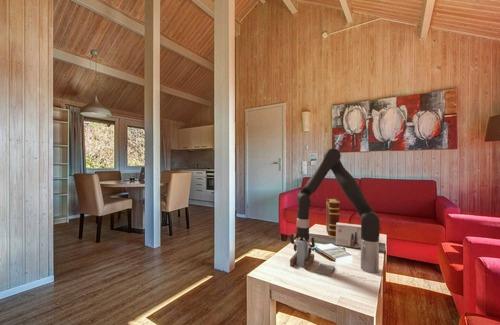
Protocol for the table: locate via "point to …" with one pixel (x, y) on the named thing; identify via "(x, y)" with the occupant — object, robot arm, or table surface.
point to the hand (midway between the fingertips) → (302, 252)
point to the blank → (302, 252)
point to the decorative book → (332, 216)
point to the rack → (307, 263)
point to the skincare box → (348, 235)
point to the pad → (325, 269)
